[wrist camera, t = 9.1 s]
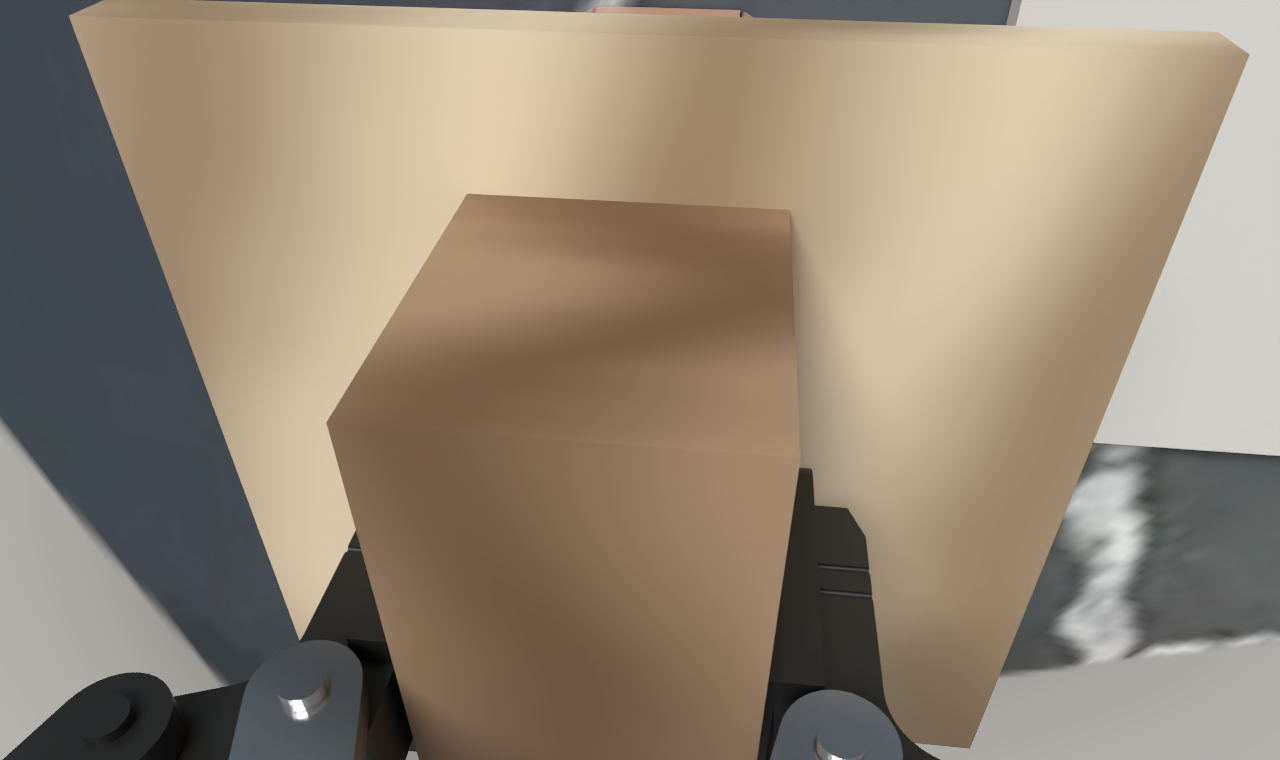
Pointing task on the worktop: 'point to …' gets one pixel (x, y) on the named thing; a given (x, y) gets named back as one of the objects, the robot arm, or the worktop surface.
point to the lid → (654, 328)
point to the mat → (1206, 250)
